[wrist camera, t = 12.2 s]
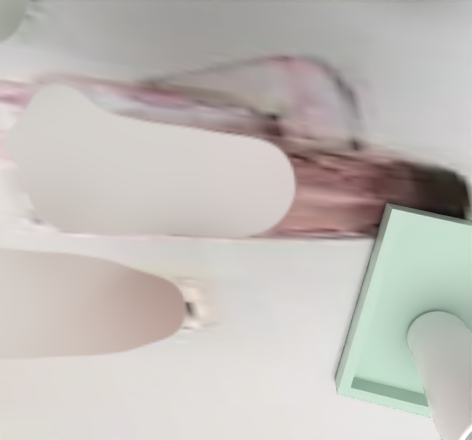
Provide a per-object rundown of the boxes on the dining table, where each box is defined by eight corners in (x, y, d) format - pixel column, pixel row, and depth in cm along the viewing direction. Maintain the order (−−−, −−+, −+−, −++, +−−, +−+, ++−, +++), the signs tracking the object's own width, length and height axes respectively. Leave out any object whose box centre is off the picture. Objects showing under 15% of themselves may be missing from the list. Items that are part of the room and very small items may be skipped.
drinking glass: (475, 299, 39) (582, 408, 25) (474, 368, 41) (574, 509, 26) (396, 302, 40) (453, 409, 26) (397, 369, 42) (452, 506, 27)
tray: (386, 202, 39) (392, 208, 36) (563, 240, 37) (581, 249, 35) (334, 378, 43) (337, 394, 41) (490, 417, 42) (502, 435, 40)
